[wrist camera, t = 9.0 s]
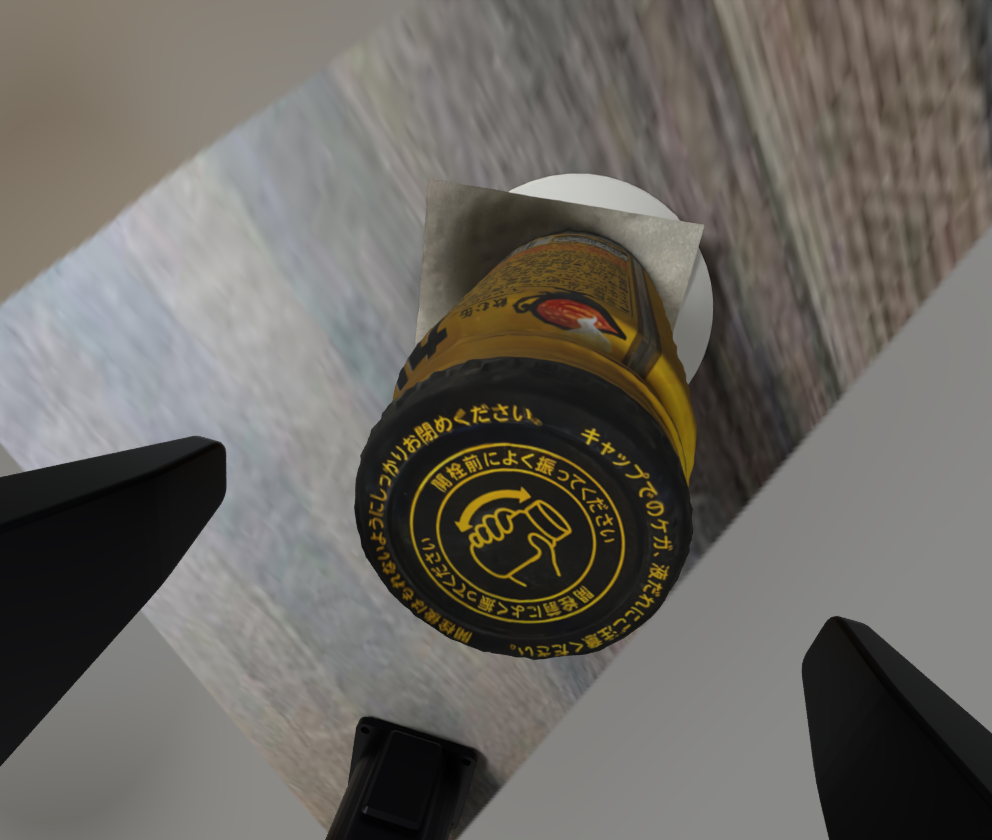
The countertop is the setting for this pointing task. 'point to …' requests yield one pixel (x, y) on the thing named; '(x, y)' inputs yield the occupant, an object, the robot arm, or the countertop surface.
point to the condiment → (536, 426)
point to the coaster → (629, 198)
